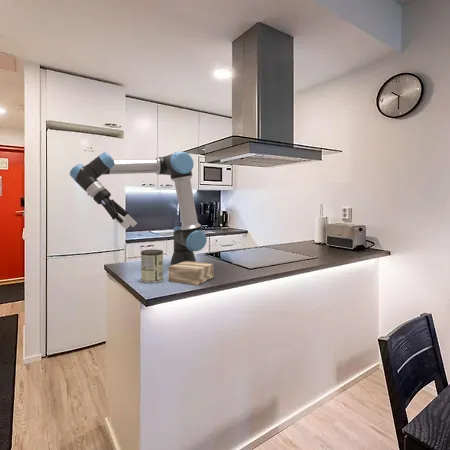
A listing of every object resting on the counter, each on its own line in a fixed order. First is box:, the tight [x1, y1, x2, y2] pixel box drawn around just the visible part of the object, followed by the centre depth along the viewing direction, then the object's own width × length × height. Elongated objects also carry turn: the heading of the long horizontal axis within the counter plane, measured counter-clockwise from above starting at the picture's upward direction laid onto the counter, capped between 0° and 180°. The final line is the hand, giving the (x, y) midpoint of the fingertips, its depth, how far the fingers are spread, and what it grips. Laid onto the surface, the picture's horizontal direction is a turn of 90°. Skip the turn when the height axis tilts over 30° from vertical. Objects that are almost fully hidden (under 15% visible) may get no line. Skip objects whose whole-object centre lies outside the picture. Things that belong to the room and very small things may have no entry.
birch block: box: [168, 261, 215, 286], centre depth 150 cm, size 16×16×7 cm
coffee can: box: [140, 249, 164, 284], centre depth 147 cm, size 10×10×14 cm
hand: (131, 226), depth 144 cm, fingers open, 13 cm apart
